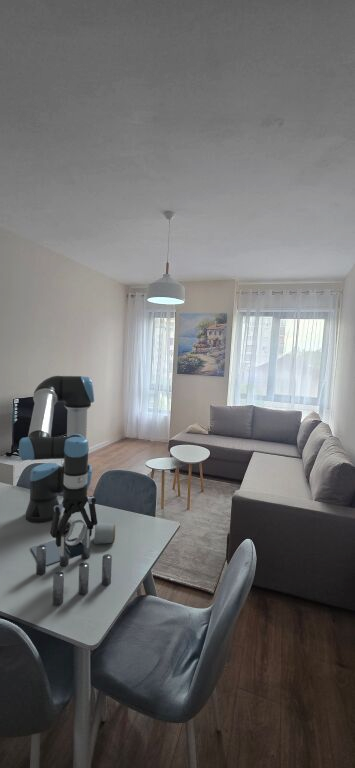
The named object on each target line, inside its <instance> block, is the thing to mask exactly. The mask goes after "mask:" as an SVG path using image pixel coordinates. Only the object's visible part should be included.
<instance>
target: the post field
mask: <svg viewBox="0 0 355 768" xmlns="http://www.w3.org/2000/svg"><path fill="white" fill-rule="evenodd" d="M68 540H70V538H68V539H67V541H68ZM81 543H82V544H83V545H84V538H83V540H82V541H81ZM39 545H40V544H39ZM80 556H81V559H82V560H84V561H85V560H88V559H90V556H91V536H90V537H89V548H86V547H85V545H84V552H83V554H82V555H80ZM35 558H36V559H35V560H36V562H35V565H36V566H35V567H36V569H35V570H36V571H35V573H36V576H40V577H41V576H44V575H45V574H46V571H47V569H46V567H47V566H46V546H45V545H40V546H38V547H37V556H36V557H35ZM112 560H113V556H112V554H110V553H108V554H104V555H103V556H102V563H101V564H102V565H101V566H102V567H101V568H102V569H101V585H102V586H105V587H106V586H109V585H111V584H112V563H113V562H112ZM69 562H70V558H69V555H68V554H67V552H66V551H65V541H64V556H62V557H61V556H60V562H59V567H61V568H66V567H68V566H69V564H70V563H69ZM78 565H79V566H78V590H77V591H78V592H77V593H78V595H79V596H83V597H84V596H87V595H88V593H89V580H90V578H89V576H90V575H89V573H90V572H89V571H90V564H89V563H88V562H86V561H85V562H82V563H80V564H78ZM64 579H65V573H64V571H56V572H54V573H53V575H52V605H53V607H60V606H62V605H63V604H64V583H65V580H64Z"/></svg>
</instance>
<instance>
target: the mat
mask: <svg viewBox="0 0 355 768" xmlns="http://www.w3.org/2000/svg"><path fill="white" fill-rule="evenodd" d="M40 545H45V546H46V567H49V566H52V565H54V564H57V563H60V554H59V553H58V547H57V545H56V539H54V540H51V541H48V542H44V543H41V544H37V545H34V546H32V547H30V550H31V552H32V553H33V555H34V556H35V558H36V556H37V547H38V546H40ZM69 559H71V558H70V557H69Z"/></svg>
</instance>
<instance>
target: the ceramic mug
mask: <svg viewBox="0 0 355 768" xmlns="http://www.w3.org/2000/svg"><path fill="white" fill-rule="evenodd" d="M94 527H95V528H94V538H93V539H94V540H93V544H94V545H102V544H113V543H114V542H115V539H116V524H115V523H105V522H104V523H103V522H97V525H94Z"/></svg>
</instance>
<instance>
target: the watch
mask: <svg viewBox="0 0 355 768" xmlns="http://www.w3.org/2000/svg"><path fill="white" fill-rule="evenodd" d="M77 524H83V526H82V528H81V531H80V533H79V535H78V537H74V538H72V539H70V537H71V536H72V535H73V533H74V528H75V526H76V525H77ZM86 526H87V525H86V523H85V521H84V520H82V519H80V518H75V519H71V520H68V522H67V525H66V527H65V529H64V532H63V534H62V535H63V537H64V541H65V551H66V552H67V554H68V555H69V557H70V558H69V559H73V558H76V557H79V556H81V555H82V554H83V552H84V545H83V544H82V540H83V538H84V537H85V534H86V532H87V527H86ZM67 539H69V540H68V541H67Z"/></svg>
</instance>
